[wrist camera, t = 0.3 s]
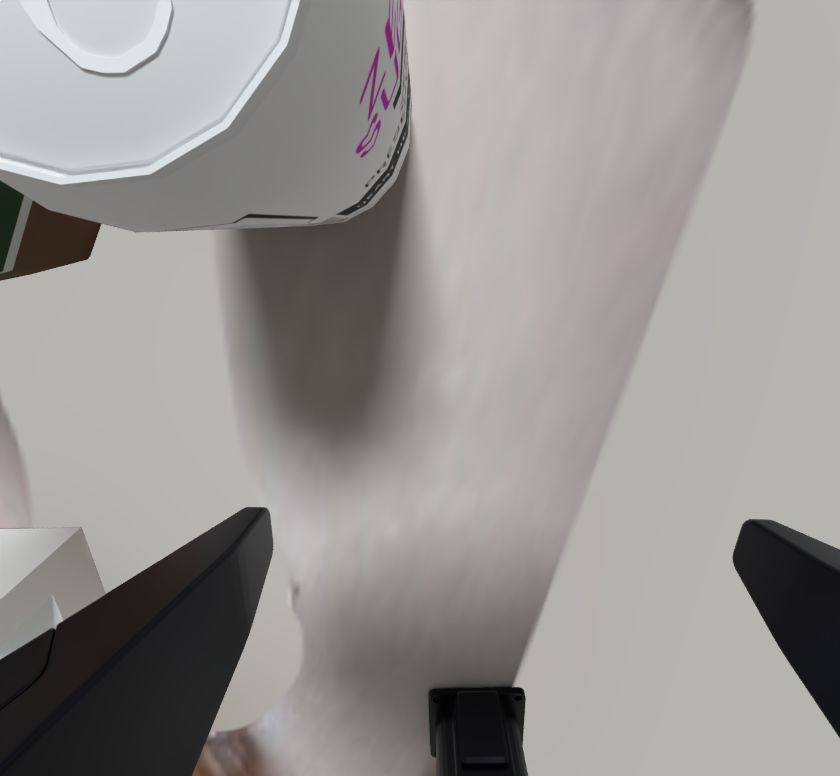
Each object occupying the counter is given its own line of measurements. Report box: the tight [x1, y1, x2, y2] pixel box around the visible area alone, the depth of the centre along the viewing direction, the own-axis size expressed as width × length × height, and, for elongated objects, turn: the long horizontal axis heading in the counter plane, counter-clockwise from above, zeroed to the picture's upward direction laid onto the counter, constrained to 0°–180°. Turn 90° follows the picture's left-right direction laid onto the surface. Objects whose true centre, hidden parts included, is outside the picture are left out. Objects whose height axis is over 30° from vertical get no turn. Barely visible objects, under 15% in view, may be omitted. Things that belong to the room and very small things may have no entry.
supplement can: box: [0, 0, 412, 232], centre depth 12 cm, size 8×8×15 cm
